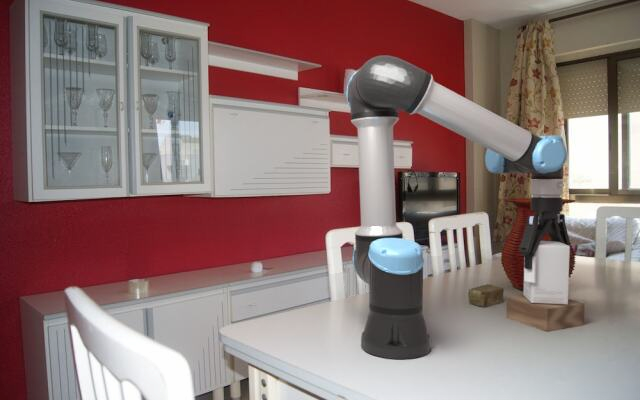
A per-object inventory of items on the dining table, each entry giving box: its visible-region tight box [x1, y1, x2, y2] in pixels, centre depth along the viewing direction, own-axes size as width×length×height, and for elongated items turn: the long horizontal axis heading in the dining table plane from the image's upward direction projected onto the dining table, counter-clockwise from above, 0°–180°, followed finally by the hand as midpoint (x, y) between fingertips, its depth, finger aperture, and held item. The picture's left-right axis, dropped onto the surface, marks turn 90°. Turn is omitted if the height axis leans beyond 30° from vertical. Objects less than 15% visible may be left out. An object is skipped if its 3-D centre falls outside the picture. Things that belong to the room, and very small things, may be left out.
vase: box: [500, 197, 577, 291], centre depth 166 cm, size 23×24×30 cm
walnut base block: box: [505, 294, 585, 333], centre depth 129 cm, size 13×13×6 cm
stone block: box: [467, 283, 505, 308], centre depth 148 cm, size 6×12×5 cm, turn 130°
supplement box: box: [522, 241, 570, 305], centre depth 128 cm, size 9×9×15 cm
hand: (545, 278), depth 128 cm, fingers open, 13 cm apart
